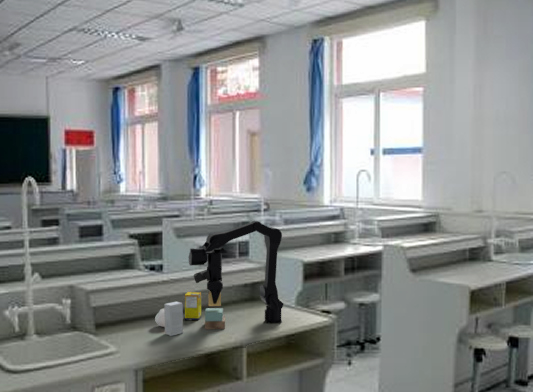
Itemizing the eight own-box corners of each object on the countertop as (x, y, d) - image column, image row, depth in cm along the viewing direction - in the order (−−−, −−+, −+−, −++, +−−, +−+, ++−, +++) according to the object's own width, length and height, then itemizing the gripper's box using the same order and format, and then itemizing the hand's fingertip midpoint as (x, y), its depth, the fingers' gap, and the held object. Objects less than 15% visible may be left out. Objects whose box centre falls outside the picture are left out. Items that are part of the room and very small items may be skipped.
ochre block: (220, 303, 243) (220, 291, 243) (220, 305, 238) (220, 293, 238) (208, 303, 243) (208, 291, 242) (208, 306, 238) (208, 294, 237)
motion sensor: (164, 323, 245) (163, 304, 245) (178, 325, 242) (178, 307, 241) (151, 327, 238) (151, 308, 238) (166, 330, 235) (166, 311, 234)
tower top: (222, 316, 244) (222, 308, 244) (222, 321, 237) (222, 312, 237) (205, 316, 244) (206, 308, 244) (205, 321, 237) (205, 312, 237)
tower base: (224, 324, 245) (224, 316, 245) (224, 329, 237) (224, 321, 237) (205, 324, 245) (205, 316, 244) (204, 330, 237) (204, 321, 236)
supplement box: (201, 316, 256) (201, 291, 255) (198, 320, 250) (198, 294, 249) (187, 316, 256) (187, 291, 256) (184, 319, 250) (184, 294, 250)
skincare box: (176, 330, 234) (176, 301, 233) (183, 333, 231) (183, 303, 230) (164, 333, 230) (163, 303, 229) (170, 336, 227) (170, 305, 226)
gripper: (195, 260, 248) (195, 297, 249) (194, 268, 229) (194, 308, 230) (221, 260, 249) (221, 296, 250) (222, 268, 230) (222, 307, 231)
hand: (214, 302), depth 240 cm, fingers closed on ochre block, 5 cm apart
